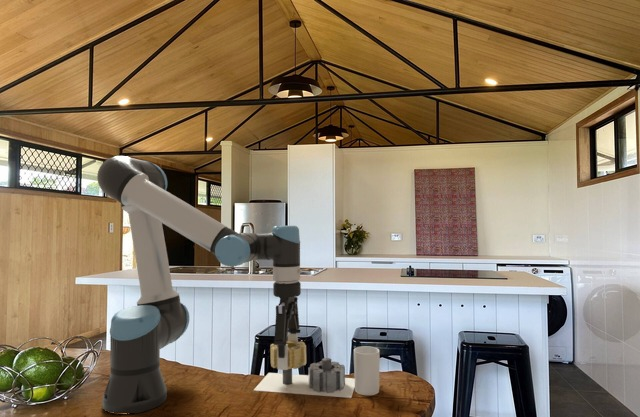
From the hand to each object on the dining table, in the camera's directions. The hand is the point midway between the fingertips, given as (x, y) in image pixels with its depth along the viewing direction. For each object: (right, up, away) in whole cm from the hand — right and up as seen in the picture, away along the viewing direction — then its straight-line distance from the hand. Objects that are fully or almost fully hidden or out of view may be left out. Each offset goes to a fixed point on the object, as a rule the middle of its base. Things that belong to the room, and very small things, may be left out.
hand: (288, 362), depth 119 cm
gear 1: (0, 0, 0) cm, 0 cm away
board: (+5, -7, -1) cm, 9 cm away
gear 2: (+11, -5, -2) cm, 12 cm away
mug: (+22, -7, -4) cm, 23 cm away
